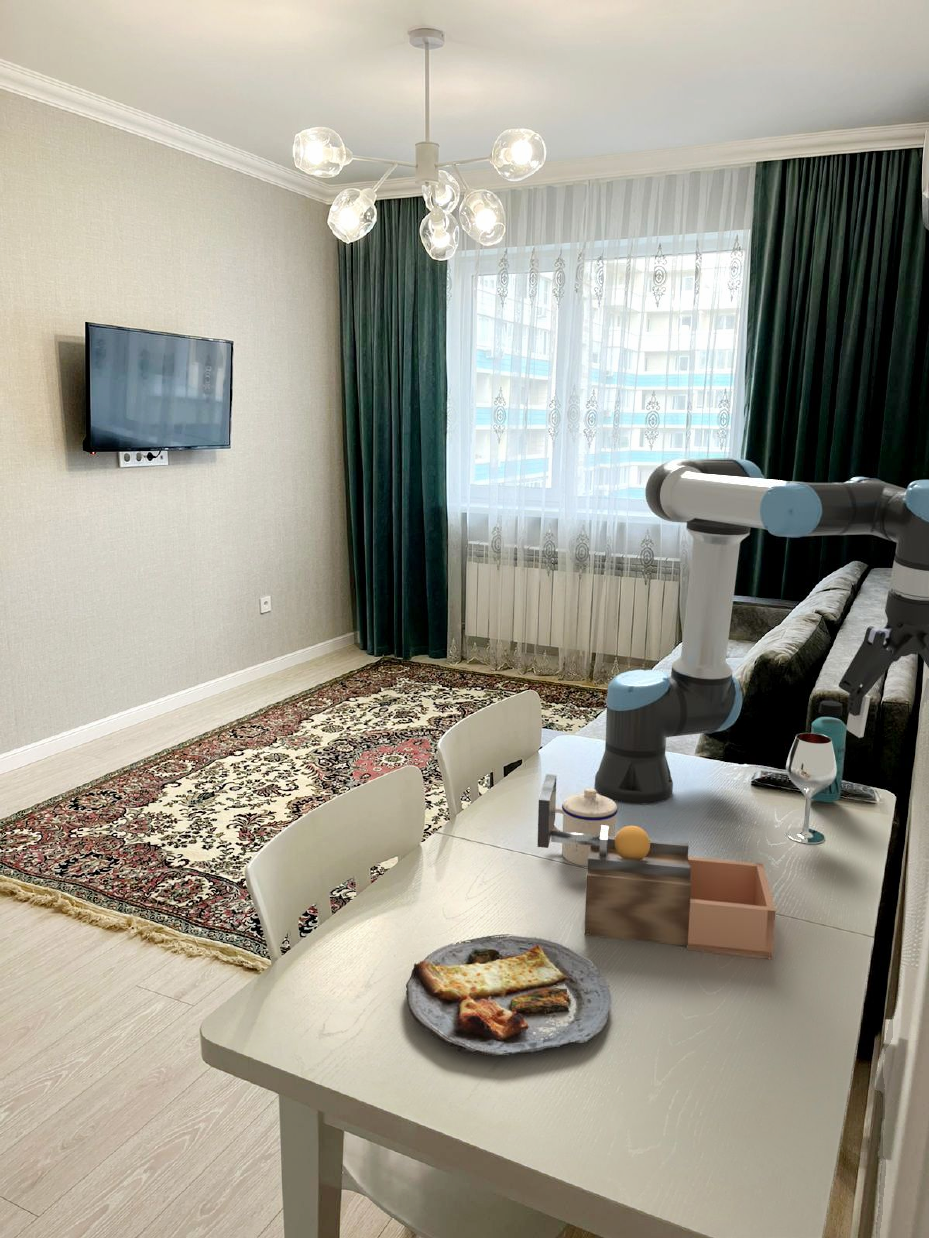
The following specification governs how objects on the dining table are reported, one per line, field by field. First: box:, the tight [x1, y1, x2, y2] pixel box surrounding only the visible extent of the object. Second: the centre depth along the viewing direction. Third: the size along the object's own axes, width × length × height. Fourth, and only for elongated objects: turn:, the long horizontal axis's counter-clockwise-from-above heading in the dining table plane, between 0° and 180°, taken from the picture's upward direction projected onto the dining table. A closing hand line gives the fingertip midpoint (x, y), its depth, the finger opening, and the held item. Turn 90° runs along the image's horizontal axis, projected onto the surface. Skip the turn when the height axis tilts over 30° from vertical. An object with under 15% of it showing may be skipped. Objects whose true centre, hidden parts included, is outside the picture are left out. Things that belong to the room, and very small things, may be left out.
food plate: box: [405, 933, 613, 1057], centre depth 112 cm, size 25×23×4 cm
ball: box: [615, 825, 651, 860], centre depth 130 cm, size 5×5×5 cm
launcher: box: [584, 836, 691, 947], centre depth 131 cm, size 14×12×10 cm
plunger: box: [537, 773, 609, 857], centre depth 131 cm, size 10×10×9 cm
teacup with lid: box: [552, 787, 619, 867], centre depth 152 cm, size 12×9×12 cm
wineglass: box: [785, 732, 837, 845], centre depth 158 cm, size 8×8×18 cm
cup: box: [686, 856, 777, 960], centre depth 129 cm, size 11×14×7 cm
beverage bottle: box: [810, 700, 848, 803], centre depth 173 cm, size 6×7×20 cm
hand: (891, 726), depth 136 cm, fingers open, 13 cm apart
